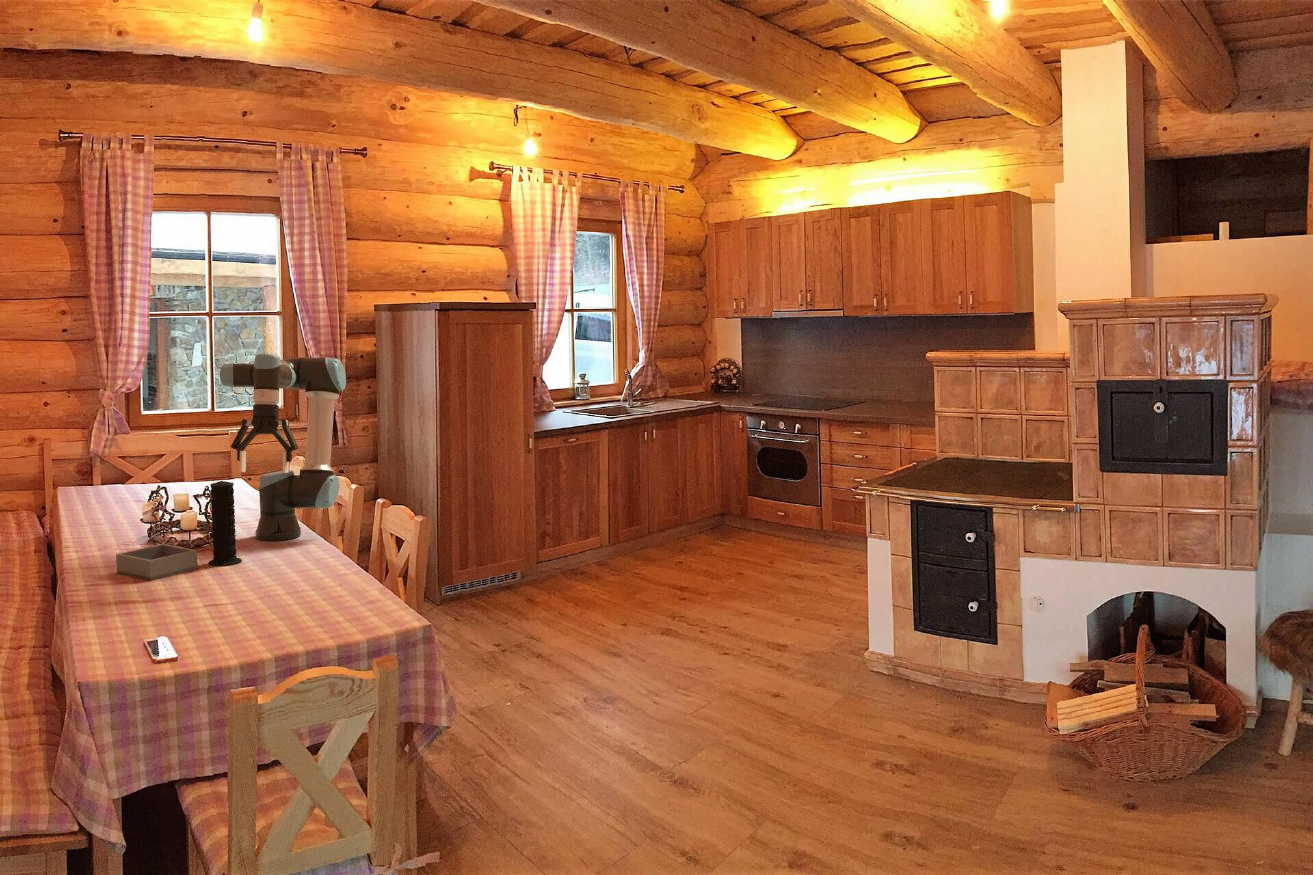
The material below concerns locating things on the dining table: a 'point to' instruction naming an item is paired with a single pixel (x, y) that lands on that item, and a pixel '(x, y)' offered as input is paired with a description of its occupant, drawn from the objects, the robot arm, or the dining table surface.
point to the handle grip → (223, 524)
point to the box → (156, 562)
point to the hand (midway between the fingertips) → (264, 472)
